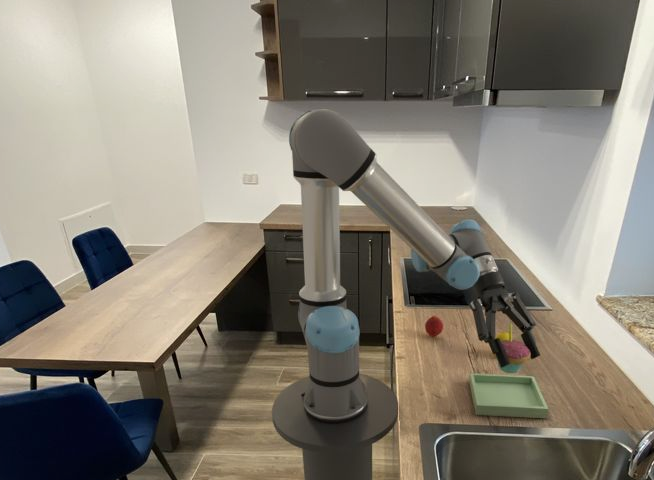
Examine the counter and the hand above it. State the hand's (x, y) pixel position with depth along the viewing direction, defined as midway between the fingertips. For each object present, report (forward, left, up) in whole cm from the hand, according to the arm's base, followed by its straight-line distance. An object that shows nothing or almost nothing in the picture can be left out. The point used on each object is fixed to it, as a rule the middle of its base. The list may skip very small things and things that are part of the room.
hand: (520, 361), depth 105 cm
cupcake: (-2, +3, -4) cm, 5 cm away
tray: (-2, +3, -13) cm, 13 cm away
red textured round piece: (-19, +37, -13) cm, 43 cm away
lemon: (+1, +26, -13) cm, 29 cm away
